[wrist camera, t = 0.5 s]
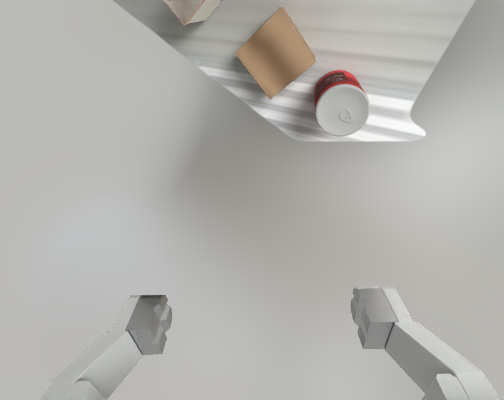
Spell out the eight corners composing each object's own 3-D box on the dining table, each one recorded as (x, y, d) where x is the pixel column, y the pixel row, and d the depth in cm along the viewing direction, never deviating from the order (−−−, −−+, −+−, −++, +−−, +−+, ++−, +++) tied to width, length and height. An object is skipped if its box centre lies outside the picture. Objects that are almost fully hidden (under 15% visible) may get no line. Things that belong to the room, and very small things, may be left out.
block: (283, 6, 42) (280, 7, 37) (314, 55, 45) (315, 62, 40) (242, 48, 46) (235, 53, 42) (273, 90, 50) (270, 99, 45)
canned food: (346, 118, 50) (354, 143, 42) (307, 105, 50) (307, 127, 42) (368, 78, 46) (381, 96, 37) (324, 62, 45) (328, 77, 37)
